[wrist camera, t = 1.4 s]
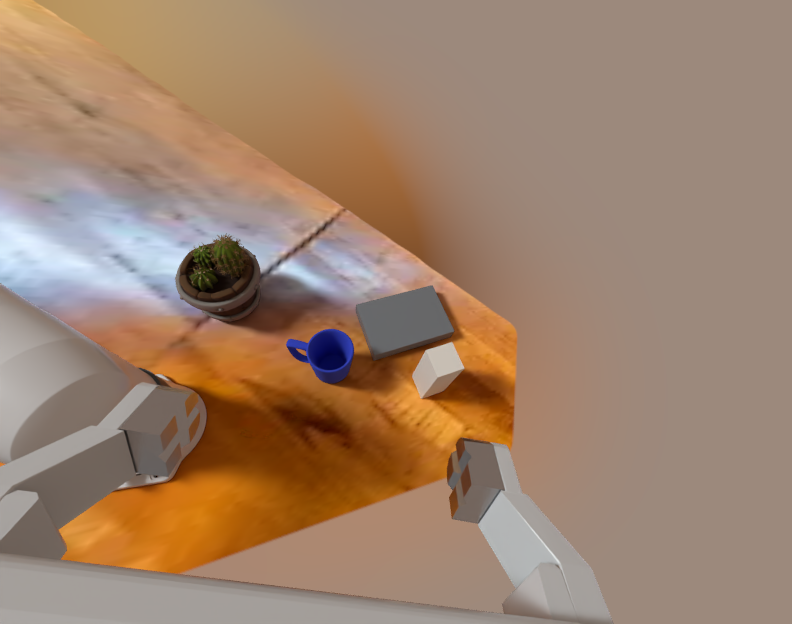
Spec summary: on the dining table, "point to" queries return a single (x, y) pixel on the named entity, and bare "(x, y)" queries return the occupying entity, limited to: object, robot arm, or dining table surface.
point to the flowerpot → (220, 279)
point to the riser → (403, 322)
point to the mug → (326, 354)
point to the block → (437, 370)
